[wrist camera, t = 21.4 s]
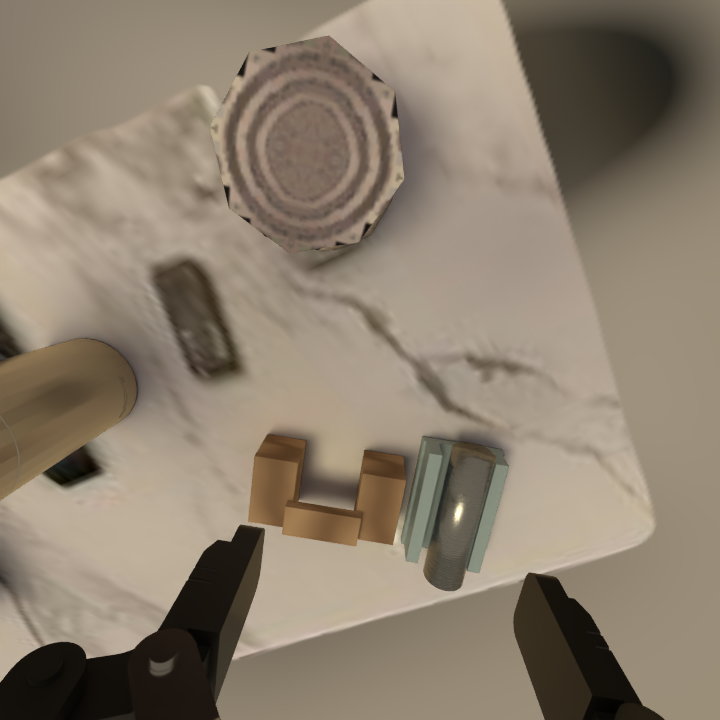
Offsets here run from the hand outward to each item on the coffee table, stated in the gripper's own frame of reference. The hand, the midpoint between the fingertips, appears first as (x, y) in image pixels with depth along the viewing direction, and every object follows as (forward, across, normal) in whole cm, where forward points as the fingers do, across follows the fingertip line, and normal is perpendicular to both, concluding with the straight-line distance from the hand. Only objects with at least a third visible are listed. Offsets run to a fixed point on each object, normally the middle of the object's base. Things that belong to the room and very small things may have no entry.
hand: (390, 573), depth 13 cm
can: (+28, +7, -14) cm, 32 cm away
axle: (+25, -10, +14) cm, 31 cm away
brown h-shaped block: (+28, +3, +14) cm, 32 cm away
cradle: (+28, -10, +14) cm, 33 cm away
